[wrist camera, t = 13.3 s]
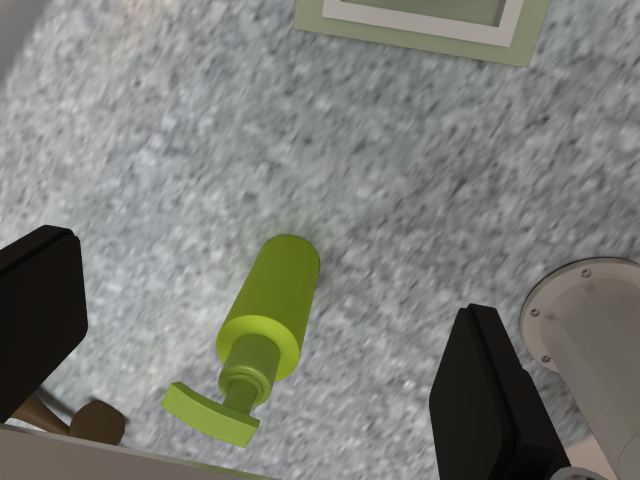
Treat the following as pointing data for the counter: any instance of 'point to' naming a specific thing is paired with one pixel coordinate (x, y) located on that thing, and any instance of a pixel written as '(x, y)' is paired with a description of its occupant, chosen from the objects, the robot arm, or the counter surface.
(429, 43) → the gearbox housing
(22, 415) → the kendama
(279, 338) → the soap dispenser
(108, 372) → the counter surface
